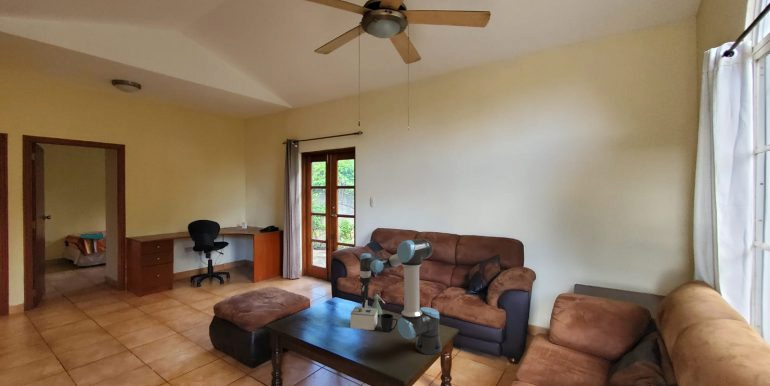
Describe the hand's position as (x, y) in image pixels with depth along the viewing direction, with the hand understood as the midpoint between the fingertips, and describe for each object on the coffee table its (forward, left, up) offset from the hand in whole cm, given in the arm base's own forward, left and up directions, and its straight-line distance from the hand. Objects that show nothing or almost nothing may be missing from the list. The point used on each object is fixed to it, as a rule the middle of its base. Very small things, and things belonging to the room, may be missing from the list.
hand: (364, 310), depth 219 cm
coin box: (0, 0, -10) cm, 10 cm away
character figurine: (-4, -18, -10) cm, 21 cm away
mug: (-18, +5, -10) cm, 21 cm away
